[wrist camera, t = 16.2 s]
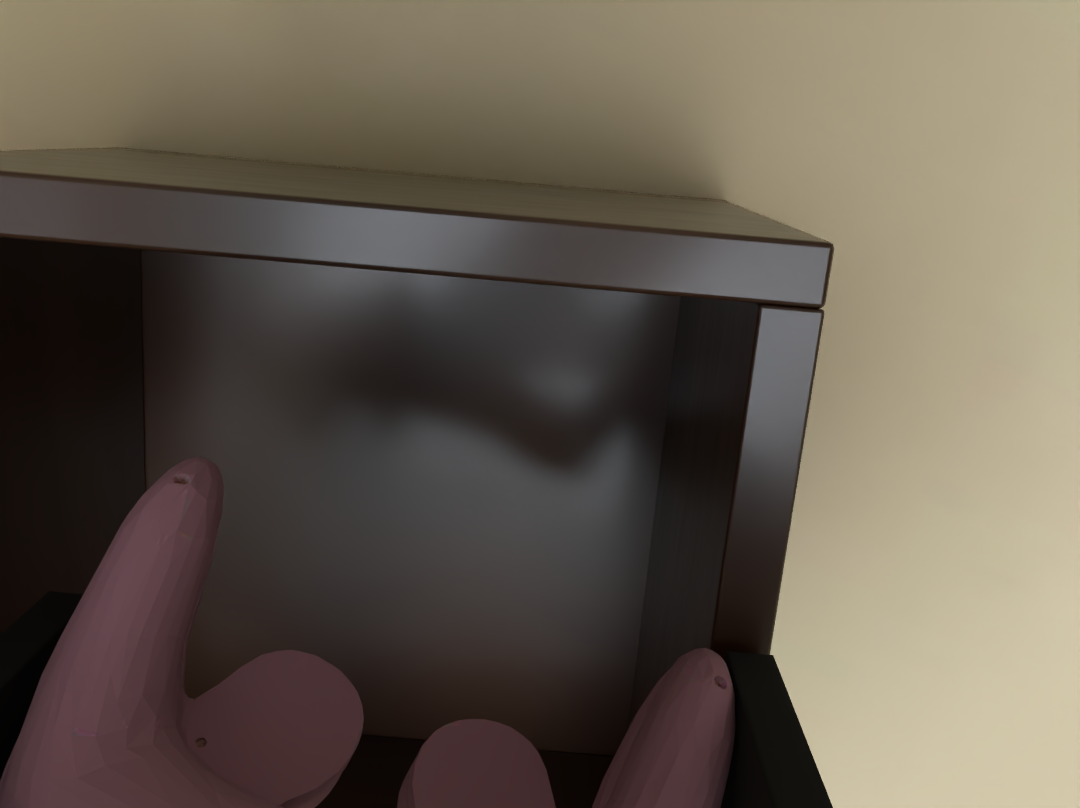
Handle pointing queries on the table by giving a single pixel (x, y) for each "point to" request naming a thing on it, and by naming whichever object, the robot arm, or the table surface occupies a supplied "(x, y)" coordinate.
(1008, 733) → the table surface
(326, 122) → the table surface
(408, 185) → the chest
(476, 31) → the table surface
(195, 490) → the video game controller
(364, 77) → the table surface
